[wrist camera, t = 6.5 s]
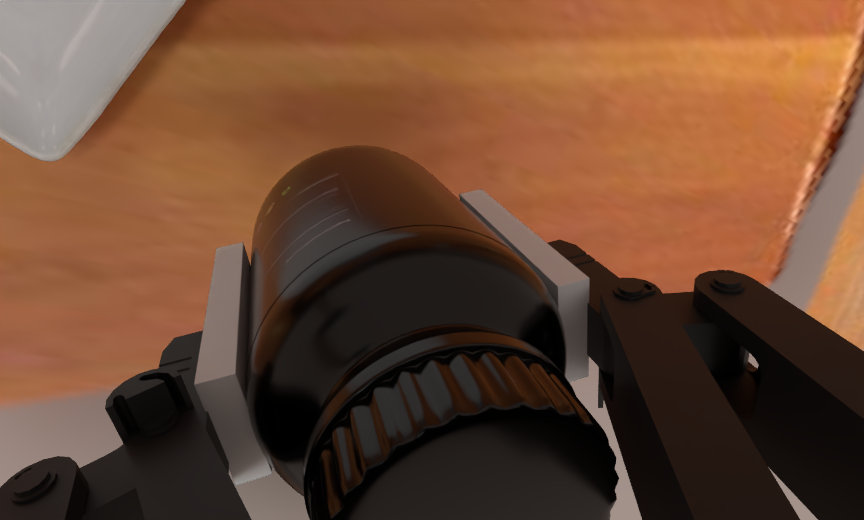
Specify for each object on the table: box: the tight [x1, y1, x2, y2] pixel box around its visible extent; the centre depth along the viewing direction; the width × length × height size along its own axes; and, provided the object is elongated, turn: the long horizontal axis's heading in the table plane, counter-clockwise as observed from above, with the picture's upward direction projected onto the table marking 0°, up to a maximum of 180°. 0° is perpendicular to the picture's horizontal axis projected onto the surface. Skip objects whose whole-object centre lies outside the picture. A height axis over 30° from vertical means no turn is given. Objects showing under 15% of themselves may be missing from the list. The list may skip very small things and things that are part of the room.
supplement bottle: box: [246, 146, 619, 520], centre depth 13 cm, size 7×7×12 cm
